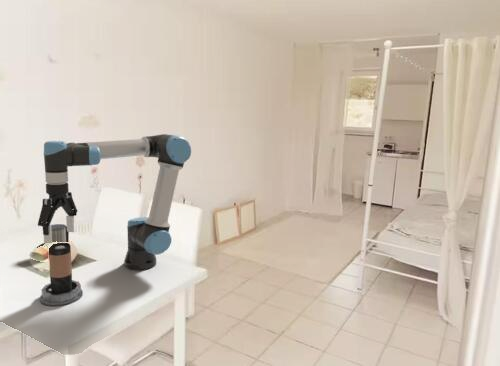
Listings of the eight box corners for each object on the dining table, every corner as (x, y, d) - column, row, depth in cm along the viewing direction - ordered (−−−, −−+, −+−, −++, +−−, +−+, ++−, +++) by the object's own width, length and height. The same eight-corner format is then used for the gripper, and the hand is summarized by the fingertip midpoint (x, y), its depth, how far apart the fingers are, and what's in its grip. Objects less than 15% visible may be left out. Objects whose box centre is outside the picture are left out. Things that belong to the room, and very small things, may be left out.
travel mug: (76, 294, 148) (74, 246, 145) (55, 301, 143) (53, 251, 139) (67, 288, 153) (65, 241, 150) (47, 294, 148) (45, 245, 144)
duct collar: (87, 287, 156) (87, 279, 156) (75, 305, 142) (75, 296, 141) (49, 288, 155) (48, 279, 154) (33, 306, 140) (32, 296, 139)
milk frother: (65, 257, 187) (63, 229, 185) (30, 259, 183) (28, 229, 181) (71, 247, 201) (70, 221, 198) (38, 249, 197) (37, 221, 194)
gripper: (68, 176, 153) (70, 226, 157) (23, 188, 129) (27, 247, 132) (85, 178, 152) (87, 228, 156) (43, 189, 128) (47, 249, 131)
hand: (59, 237), depth 144 cm, fingers open, 13 cm apart
